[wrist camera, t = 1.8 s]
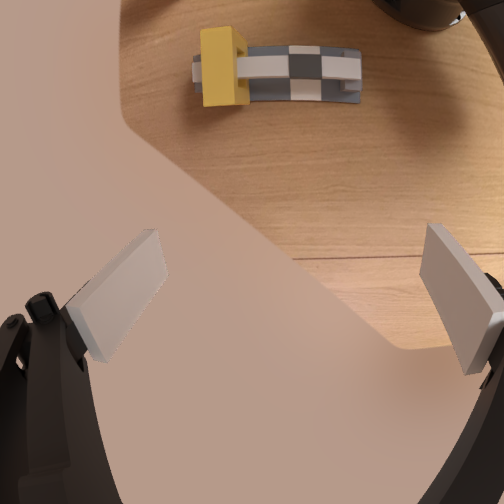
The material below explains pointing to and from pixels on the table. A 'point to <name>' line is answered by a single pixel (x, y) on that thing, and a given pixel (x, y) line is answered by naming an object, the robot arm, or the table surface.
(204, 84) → the collar
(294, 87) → the rail
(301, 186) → the table surface
